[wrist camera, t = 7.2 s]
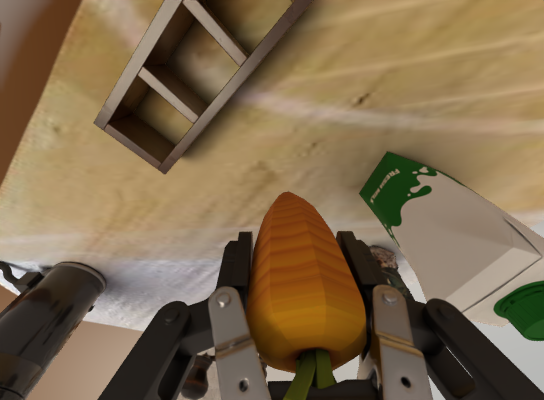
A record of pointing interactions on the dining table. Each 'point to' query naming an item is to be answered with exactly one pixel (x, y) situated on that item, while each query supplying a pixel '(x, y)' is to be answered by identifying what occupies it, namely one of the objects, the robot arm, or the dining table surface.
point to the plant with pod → (390, 270)
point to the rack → (153, 72)
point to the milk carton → (461, 245)
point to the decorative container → (209, 380)
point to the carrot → (303, 297)
